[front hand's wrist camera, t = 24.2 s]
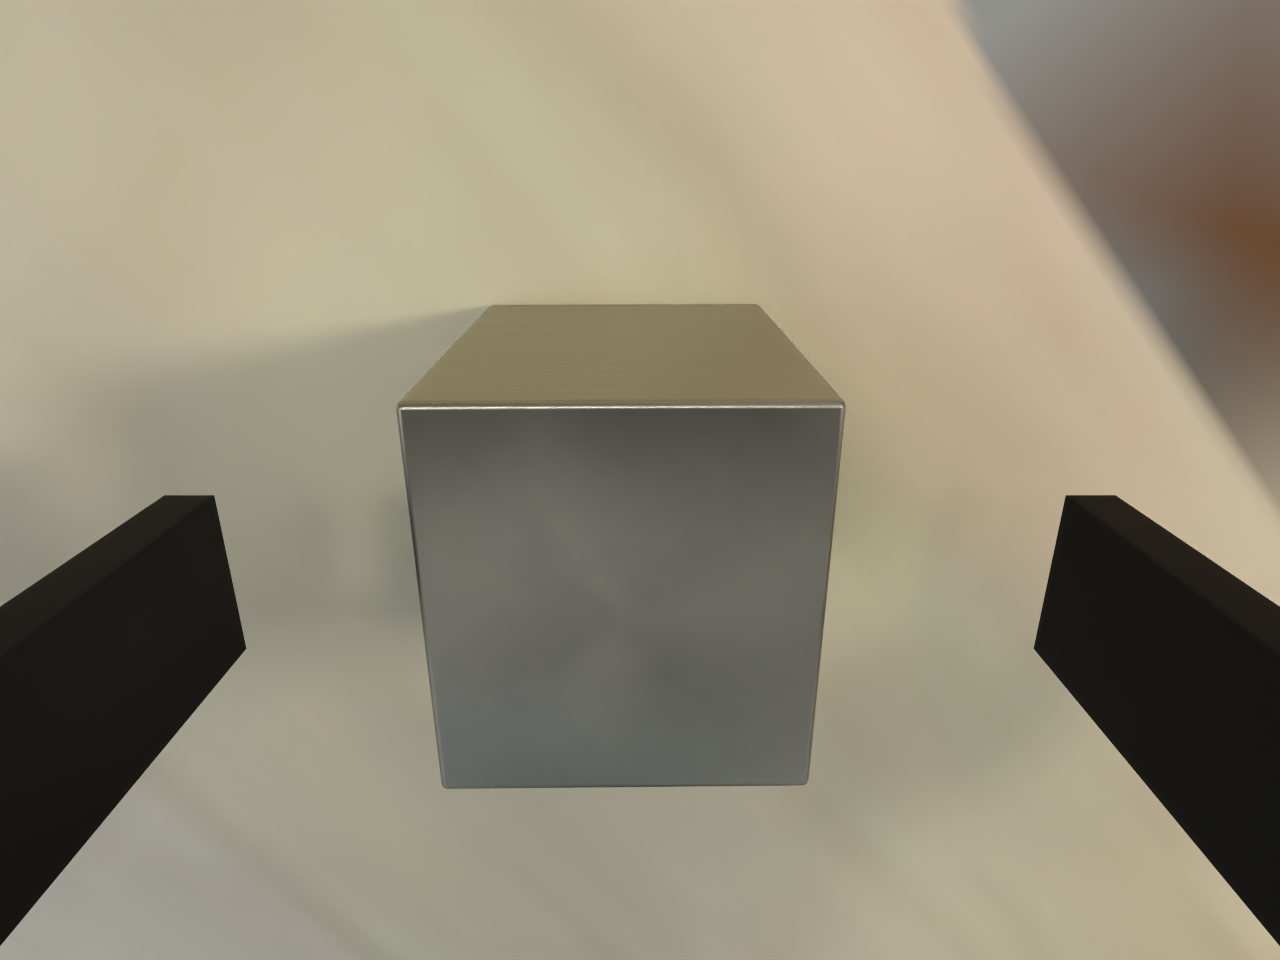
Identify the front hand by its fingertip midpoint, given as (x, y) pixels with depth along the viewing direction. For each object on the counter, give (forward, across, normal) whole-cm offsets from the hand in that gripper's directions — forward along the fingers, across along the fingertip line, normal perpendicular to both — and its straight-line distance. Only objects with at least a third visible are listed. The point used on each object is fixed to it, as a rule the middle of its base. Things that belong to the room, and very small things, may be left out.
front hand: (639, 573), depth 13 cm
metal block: (+5, 0, 0) cm, 5 cm away
